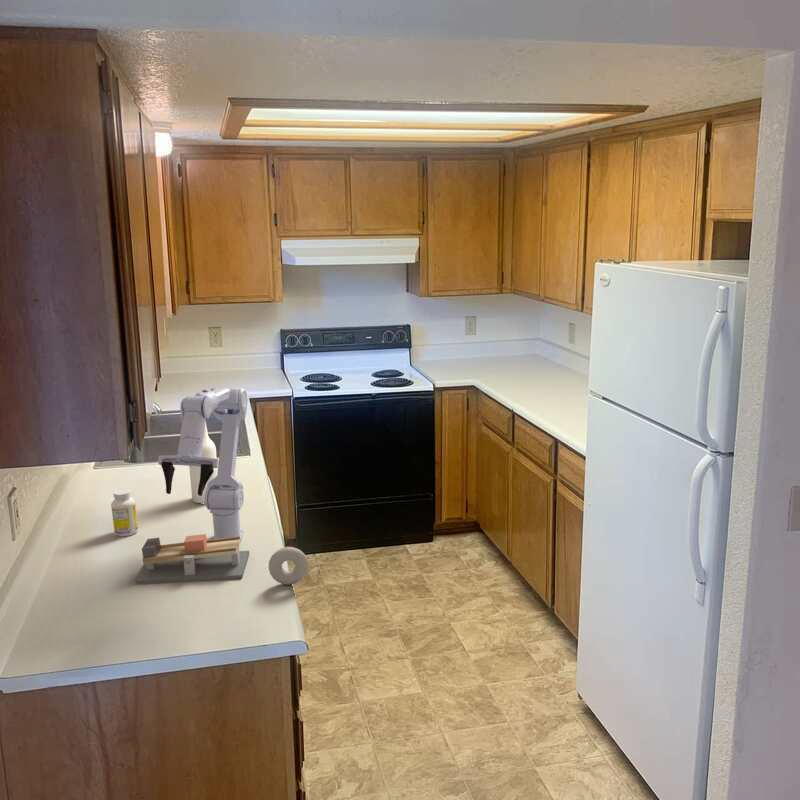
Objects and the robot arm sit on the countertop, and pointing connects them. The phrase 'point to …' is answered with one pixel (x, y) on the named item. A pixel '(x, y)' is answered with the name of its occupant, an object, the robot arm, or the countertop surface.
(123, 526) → the supplement bottle
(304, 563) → the donut
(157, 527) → the countertop surface
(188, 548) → the block
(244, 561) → the tilt stand
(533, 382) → the countertop surface
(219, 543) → the beam
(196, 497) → the alcohol
